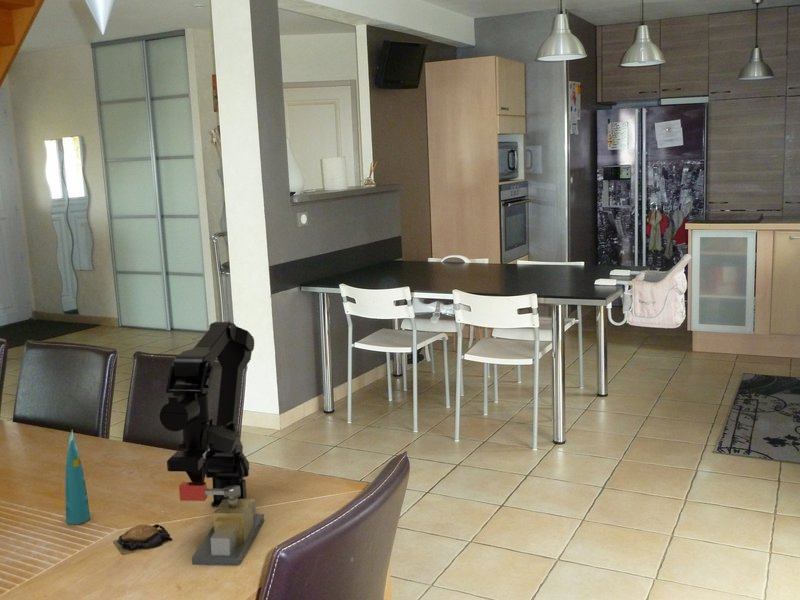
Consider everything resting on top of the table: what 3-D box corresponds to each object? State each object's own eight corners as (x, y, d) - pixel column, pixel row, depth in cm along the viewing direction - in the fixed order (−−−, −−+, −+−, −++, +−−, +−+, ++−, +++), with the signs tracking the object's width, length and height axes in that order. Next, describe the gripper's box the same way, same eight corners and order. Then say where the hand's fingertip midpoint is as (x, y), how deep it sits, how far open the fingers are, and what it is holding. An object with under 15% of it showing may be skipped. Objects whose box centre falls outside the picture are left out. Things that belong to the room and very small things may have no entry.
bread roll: (122, 559, 160) (120, 541, 160) (111, 543, 167) (110, 526, 167) (176, 544, 166) (174, 527, 165) (163, 529, 173) (162, 513, 172)
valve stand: (192, 564, 156) (189, 518, 155) (222, 520, 176) (220, 478, 174) (238, 565, 155) (236, 518, 154) (264, 520, 175) (262, 479, 174)
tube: (91, 524, 175) (84, 437, 172) (67, 528, 173) (59, 441, 170) (88, 511, 182) (81, 428, 179) (64, 516, 180) (57, 431, 177)
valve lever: (242, 496, 166) (241, 481, 165) (238, 502, 162) (237, 487, 162) (184, 495, 167) (183, 480, 166) (178, 502, 163) (177, 486, 163)
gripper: (220, 430, 156) (224, 508, 159) (246, 402, 175) (249, 472, 177) (163, 430, 157) (168, 507, 160) (195, 402, 175) (199, 472, 178)
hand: (199, 489), depth 169 cm, fingers closed
